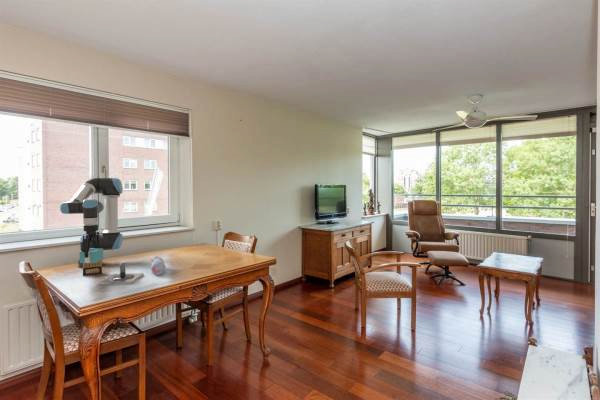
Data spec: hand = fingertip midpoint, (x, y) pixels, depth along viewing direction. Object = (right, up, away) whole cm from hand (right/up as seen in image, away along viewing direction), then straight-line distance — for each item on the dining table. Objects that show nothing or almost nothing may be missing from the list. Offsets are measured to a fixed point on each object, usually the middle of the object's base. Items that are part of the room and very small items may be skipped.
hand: (91, 260), depth 191 cm
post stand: (+18, -13, +2) cm, 22 cm away
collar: (0, 0, 0) cm, 0 cm away
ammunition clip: (-9, -12, +13) cm, 20 cm away
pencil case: (+32, -12, +20) cm, 40 cm away
